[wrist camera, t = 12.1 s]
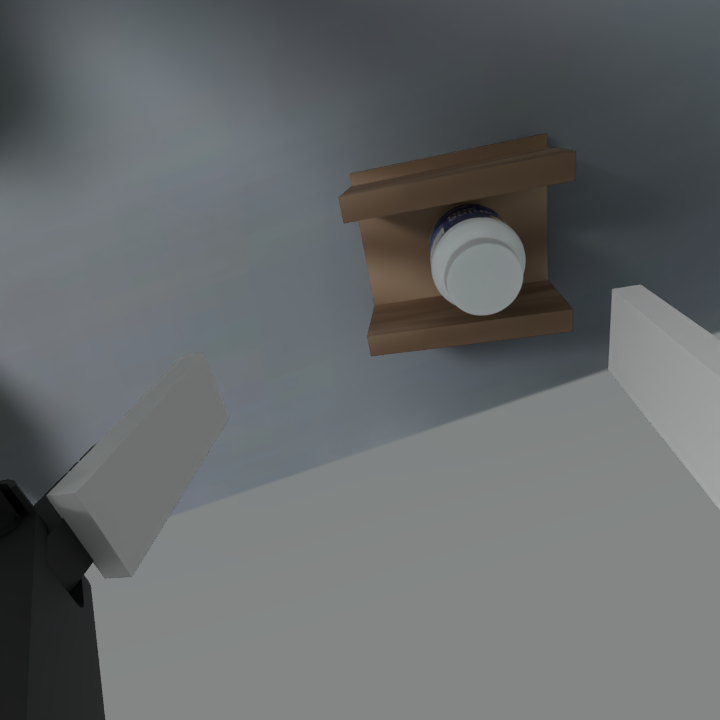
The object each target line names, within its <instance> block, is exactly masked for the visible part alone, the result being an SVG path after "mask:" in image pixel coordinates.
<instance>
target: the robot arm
mask: <svg viewBox="0 0 720 720" xmlns="http://www.w3.org/2000/svg"><path fill="white" fill-rule="evenodd" d="M608 371H609V372H610V373H611V375H612V376H613V377H614V378H615V380H616V381H617V382H618V383H619V385H620V386H621V387H622V388H623V390H624V391H625V392H626V393H627V395H628V396H629V397H630V398H631V400H632V401H633V402H634V403H635V405H636V406H637V407H638V408H639V410H640V411H641V412H642V413H643V415H644V416H645V417H646V418H647V420H648V421H649V422H650V423H651V425H652V426H653V427H654V428H655V430H656V431H657V432H658V433H659V435H660V436H661V437H662V438H663V440H664V441H665V442H666V443H667V445H668V446H669V447H670V448H671V449H672V451H673V452H674V453H675V455H676V456H677V457H678V458H679V460H680V461H681V462H682V463H683V465H684V466H685V467H686V468H687V470H688V471H689V472H690V473H691V475H692V476H693V477H694V478H695V480H696V481H697V482H698V483H699V485H700V486H701V487H702V488H703V490H704V491H705V492H706V493H707V495H708V496H709V497H710V498H711V500H712V501H713V502H714V503H715V505H716V506H717V507H718V508H719V510H720V340H719V339H718V338H716V337H715V336H714V335H712V334H711V333H709V332H708V331H706V330H705V329H704V328H702V327H701V326H699V325H698V324H696V323H695V322H694V321H692V320H691V319H689V318H688V317H686V316H685V315H684V314H682V313H681V312H679V311H678V310H676V309H675V308H674V307H672V306H671V305H669V304H668V303H666V302H665V301H664V300H662V299H661V298H659V297H658V296H656V295H655V294H654V293H652V292H651V291H649V290H648V289H646V288H645V287H644V286H642V285H635V286H628V287H622V288H615V289H612V303H611V323H610V343H609V363H608ZM229 418H230V415H229V413H228V411H227V408H226V406H225V403H224V401H223V399H222V396H221V394H220V391H219V389H218V386H217V384H216V382H215V379H214V377H213V374H212V372H211V370H210V367H209V365H208V362H207V360H206V358H205V355H204V353H203V352H201V353H195V354H188V355H183V356H182V357H181V358H180V359H179V360H178V361H177V362H176V363H175V364H174V365H173V366H172V367H171V368H170V369H169V370H168V371H167V373H166V374H165V375H164V376H163V377H162V378H161V379H160V380H159V381H158V382H157V383H156V384H155V385H154V386H153V387H152V388H151V389H150V390H149V391H148V392H147V393H146V394H145V395H144V396H143V397H142V398H141V399H140V400H139V401H138V402H137V403H136V404H135V405H134V406H133V407H132V408H131V409H130V410H129V411H128V412H127V413H126V414H125V415H124V417H123V418H122V419H121V420H120V421H119V422H118V423H117V424H116V425H115V426H114V427H113V428H112V429H111V430H110V431H109V432H108V433H107V434H106V435H105V436H104V437H103V438H102V439H101V440H100V441H99V442H98V443H97V444H95V445H94V446H92V447H91V448H90V449H89V450H88V451H87V452H86V453H85V454H84V455H83V456H82V457H81V459H80V462H77V463H76V464H75V465H74V466H73V467H72V468H71V469H70V470H69V473H66V474H65V475H64V476H63V477H62V478H61V479H60V480H59V481H58V482H57V483H56V484H55V485H54V486H53V487H52V488H51V489H50V490H49V491H48V492H47V493H46V494H45V495H44V496H43V497H42V498H41V499H40V500H39V501H38V502H37V503H36V504H35V505H34V506H33V505H32V504H31V502H30V501H29V500H28V498H27V497H26V496H25V494H24V493H23V492H22V490H21V489H20V488H19V486H18V485H17V484H16V482H15V481H14V480H8V479H7V480H2V481H0V720H105V714H104V704H103V695H102V686H101V677H100V668H99V658H98V649H97V640H96V630H95V621H94V611H93V602H92V593H91V585H90V583H89V581H88V580H87V578H86V577H85V576H84V573H85V572H86V571H87V569H88V568H89V567H90V565H91V564H92V563H94V564H95V565H96V567H97V568H98V570H99V571H100V572H101V574H102V575H103V577H104V578H122V577H132V576H133V575H134V573H135V571H136V570H137V568H138V567H139V565H140V563H141V562H142V560H143V558H144V557H145V555H146V554H147V552H148V550H149V549H150V547H151V545H152V544H153V542H154V540H155V539H156V537H157V536H158V534H159V532H160V531H161V529H162V527H163V526H164V524H165V522H166V521H167V519H168V518H169V516H170V514H171V513H172V511H173V509H174V508H175V506H176V505H177V503H178V501H179V500H180V498H181V496H182V495H183V493H184V492H185V490H186V488H187V487H188V485H189V483H190V482H191V480H192V478H193V477H194V475H195V474H196V472H197V470H198V469H199V467H200V465H201V464H202V462H203V461H204V459H205V457H206V456H207V454H208V452H209V451H210V449H211V447H212V446H213V444H214V443H215V441H216V439H217V438H218V436H219V434H220V433H221V431H222V430H223V428H224V426H225V425H226V423H227V421H228V420H229Z"/></svg>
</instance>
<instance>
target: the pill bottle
mask: <svg viewBox="0 0 720 720" xmlns="http://www.w3.org/2000/svg"><path fill="white" fill-rule="evenodd" d="M429 252H430V262H431V272H432V278H433V280H434V283H435V286H436V287H437V289H438V291H439V292H440V294H441V295H442V296H443V297H444V298H445V299H446V300H448V301H449V302H451V303H452V304H454V305H456V306H457V307H458V308H460V309H461V310H463V311H464V312H466V313H469V314H473V315H490V314H494V313H497V312H499V311H501V310H503V309H504V308H506V307H507V306H509V305H510V304H511V303H512V302H513V301H514V299H515V298H516V297H517V295H518V293H519V291H520V289H521V286H522V282H523V274H524V270H525V264H526V258H525V251H524V247H523V244H522V242H521V240H520V238H519V237H518V235H517V234H516V233H515V231H514V230H513V229H512V228H511V227H510V226H509V225H508V224H507V223H506V222H505V221H504V220H503V219H502V218H501V217H500V216H499V215H498V214H497V213H496V212H495V211H494V210H493V209H491V208H490V207H488V206H486V205H483V204H480V203H473V202H470V203H462V204H458V205H455V206H453V207H451V208H449V209H448V210H446V211H445V212H444V213H443V214H442V215H441V216H440V217H439V218H438V219H437V221H436V222H435V224H434V226H433V228H432V231H431V235H430V241H429Z"/></svg>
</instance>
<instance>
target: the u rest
mask: <svg viewBox="0 0 720 720" xmlns="http://www.w3.org/2000/svg"><path fill="white" fill-rule="evenodd" d="M575 177H576V151H574V150H567V149H560V148H552V147H547V134H540V135H535V136H530V137H525V138H520V139H516V140H511V141H506V142H501V143H496V144H491V145H486V146H482V147H477V148H472V149H467V150H462V151H457V152H453V153H448V154H443V155H438V156H433V157H428V158H423V159H419V160H414V161H409V162H404V163H399V164H394V165H389V166H385V167H380V168H375V169H370V170H365V171H360V172H356V173H351V174H350V179H351V184H352V186H351V187H350V188H349V189H348V190H347V191H345V192H344V193H343V194H342V195H341V196H339V197H338V198H339V203H340V208H341V213H342V218H343V223H349V222H355V221H359V226H360V231H361V236H362V241H363V247H364V252H365V257H366V262H367V267H368V273H369V278H370V283H371V288H372V294H373V299H374V304H375V306H374V310H373V314H372V318H371V323H370V327H369V331H368V335H367V339H368V344H369V349H370V354H371V356H378V355H386V354H394V353H402V352H410V351H418V350H426V349H434V348H442V347H450V346H459V345H467V344H475V343H483V342H491V341H499V340H507V339H515V338H523V337H531V336H539V335H547V334H556V333H564V332H572V331H573V308H572V307H571V306H570V305H569V304H568V303H567V302H566V300H565V299H564V298H563V297H562V296H561V295H560V293H559V292H558V291H557V290H556V289H555V288H554V286H553V285H552V284H551V283H550V282H549V281H548V223H547V186H550V185H555V184H561V183H566V182H571V181H575ZM470 202H473V203H480V204H483V205H486V206H488V207H490V208H491V209H493V210H494V211H495V212H496V213H497V214H498V215H499V216H500V217H501V218H502V219H503V220H504V221H505V222H506V223H507V224H508V225H509V226H510V227H511V228H512V229H513V230H514V231H515V233H516V234H517V235H518V237H519V238H520V240H521V242H522V244H523V247H524V251H525V258H526V264H525V270H524V274H523V282H522V286H521V289H520V291H519V293H518V295H517V297H516V298H515V299H514V301H513V302H512V303H511V304H510V305H509V306H507V307H506V308H504V309H503V310H501V311H499V312H497V313H494V314H490V315H473V314H469V313H466V312H464V311H463V310H461V309H460V308H458V307H457V306H456V305H454V304H452V303H451V302H449V301H448V300H446V299H445V298H444V297H443V296H442V295H441V294H440V292H439V291H438V289H437V287H436V286H435V283H434V280H433V278H432V272H431V262H430V252H429V241H430V235H431V231H432V228H433V226H434V224H435V222H436V221H437V219H438V218H439V217H440V216H441V215H442V214H443V213H444V212H445V211H446V210H448V209H449V208H451V207H453V206H455V205H458V204H462V203H470Z"/></svg>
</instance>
